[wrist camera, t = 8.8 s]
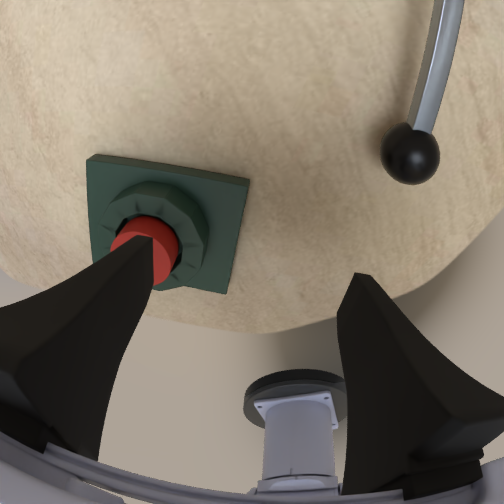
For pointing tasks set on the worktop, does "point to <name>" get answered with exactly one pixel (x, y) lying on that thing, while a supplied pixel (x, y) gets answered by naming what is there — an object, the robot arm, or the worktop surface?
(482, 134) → the worktop surface
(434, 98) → the grey lever handle
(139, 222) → the button
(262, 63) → the worktop surface
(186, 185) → the button box
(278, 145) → the worktop surface
